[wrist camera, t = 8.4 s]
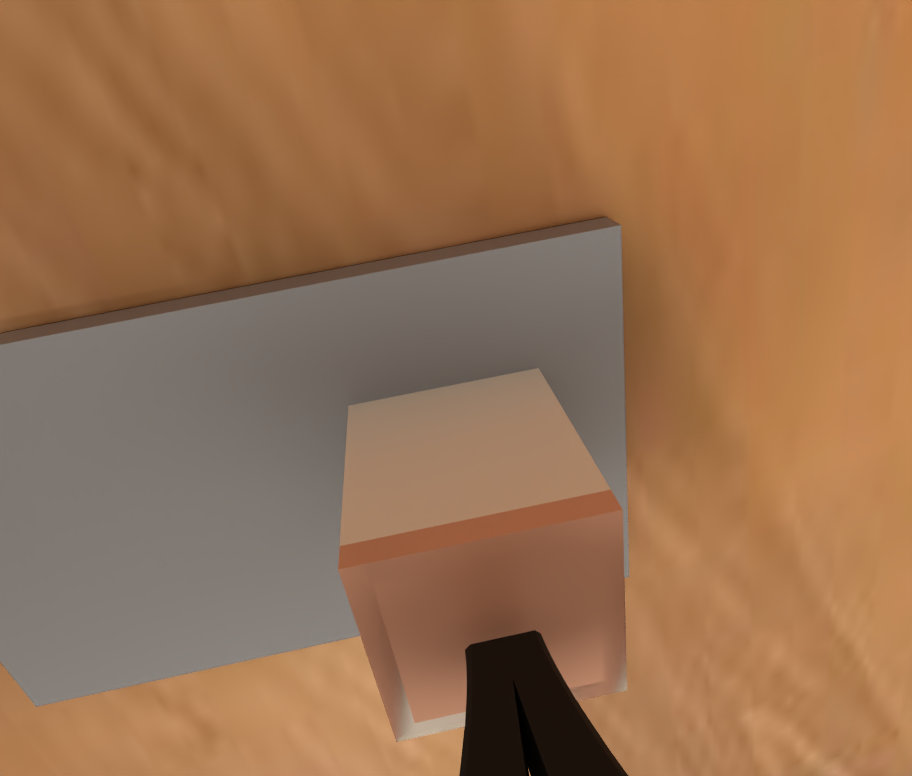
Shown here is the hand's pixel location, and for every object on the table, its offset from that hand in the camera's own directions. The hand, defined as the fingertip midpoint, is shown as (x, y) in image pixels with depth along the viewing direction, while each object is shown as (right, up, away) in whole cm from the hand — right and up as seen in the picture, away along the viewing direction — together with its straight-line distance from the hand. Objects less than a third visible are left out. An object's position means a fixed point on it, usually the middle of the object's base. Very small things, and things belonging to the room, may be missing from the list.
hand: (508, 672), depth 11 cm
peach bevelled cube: (-1, +3, +6) cm, 7 cm away
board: (-6, +3, +7) cm, 9 cm away
